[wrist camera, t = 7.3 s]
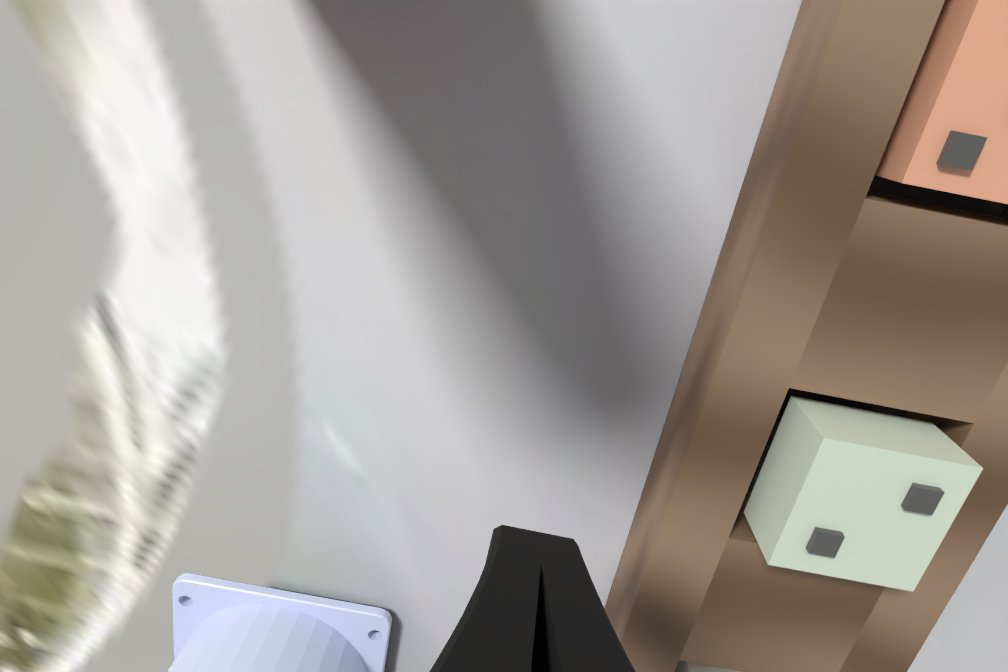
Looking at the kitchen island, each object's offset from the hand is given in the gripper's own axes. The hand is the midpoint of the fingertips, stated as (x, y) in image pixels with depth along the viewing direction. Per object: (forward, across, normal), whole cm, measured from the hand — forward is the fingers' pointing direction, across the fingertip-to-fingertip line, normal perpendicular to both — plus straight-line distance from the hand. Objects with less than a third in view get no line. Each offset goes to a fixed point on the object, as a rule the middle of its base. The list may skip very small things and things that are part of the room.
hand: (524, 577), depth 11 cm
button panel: (+9, -9, +1) cm, 13 cm away
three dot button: (+9, -9, -9) cm, 15 cm away
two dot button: (+8, -9, +1) cm, 12 cm away
